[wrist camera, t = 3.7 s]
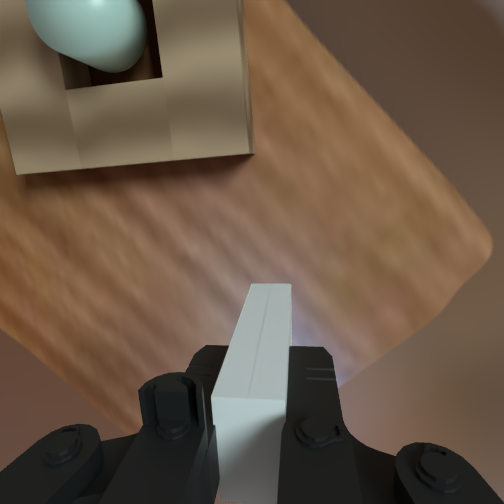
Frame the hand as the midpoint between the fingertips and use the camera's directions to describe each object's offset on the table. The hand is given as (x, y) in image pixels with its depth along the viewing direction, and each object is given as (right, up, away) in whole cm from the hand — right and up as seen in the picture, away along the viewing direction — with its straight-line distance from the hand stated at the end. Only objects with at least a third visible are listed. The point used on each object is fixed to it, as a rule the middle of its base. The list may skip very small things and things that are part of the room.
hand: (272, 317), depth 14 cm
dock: (-11, +20, +16) cm, 28 cm away
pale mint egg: (-12, +19, +13) cm, 26 cm away
